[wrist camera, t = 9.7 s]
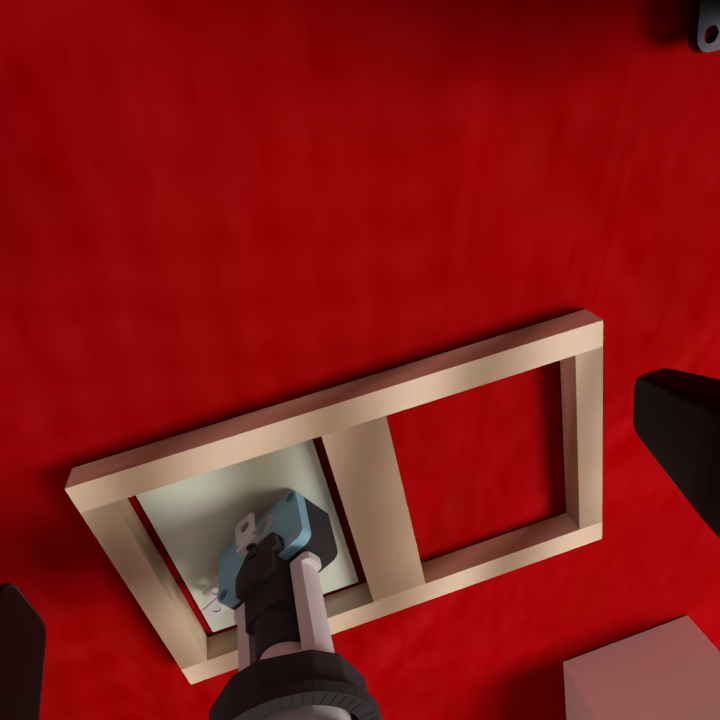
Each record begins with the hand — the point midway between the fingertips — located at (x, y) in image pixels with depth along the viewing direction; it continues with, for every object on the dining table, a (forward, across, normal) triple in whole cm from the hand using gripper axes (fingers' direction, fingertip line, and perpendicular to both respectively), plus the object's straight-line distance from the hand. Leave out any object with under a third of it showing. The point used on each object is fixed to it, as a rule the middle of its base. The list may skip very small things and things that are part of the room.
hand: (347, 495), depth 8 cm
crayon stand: (+12, -14, +36) cm, 41 cm away
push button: (+12, +4, +12) cm, 18 cm away
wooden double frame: (+12, -1, +12) cm, 17 cm away
